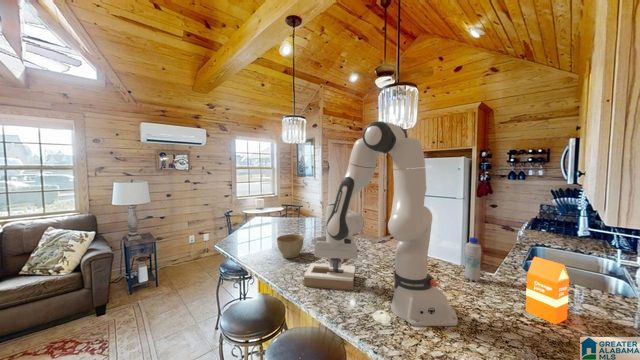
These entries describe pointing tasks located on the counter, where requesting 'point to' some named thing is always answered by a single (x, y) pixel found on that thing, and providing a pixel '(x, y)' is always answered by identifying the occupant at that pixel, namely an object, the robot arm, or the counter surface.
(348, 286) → the keyhole plate
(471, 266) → the bottle
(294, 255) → the planter bowl
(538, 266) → the orange juice
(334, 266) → the peg
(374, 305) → the counter surface
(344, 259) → the wooden tablet
